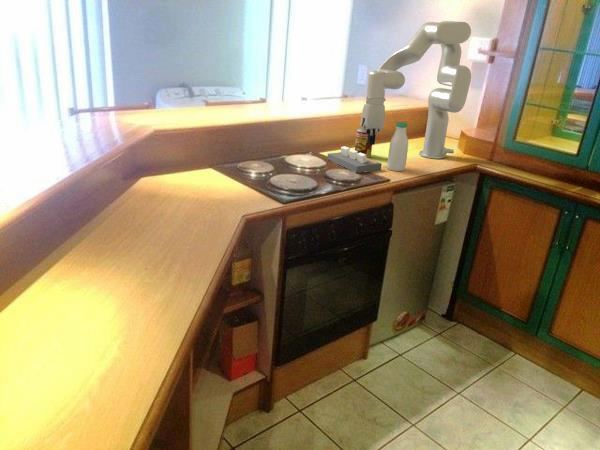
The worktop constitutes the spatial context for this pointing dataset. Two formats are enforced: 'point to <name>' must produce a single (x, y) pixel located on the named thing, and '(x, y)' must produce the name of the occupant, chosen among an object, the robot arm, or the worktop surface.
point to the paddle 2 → (361, 157)
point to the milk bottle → (398, 148)
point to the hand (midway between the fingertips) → (370, 143)
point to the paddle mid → (353, 154)
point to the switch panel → (355, 163)
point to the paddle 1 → (345, 150)
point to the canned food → (362, 143)
